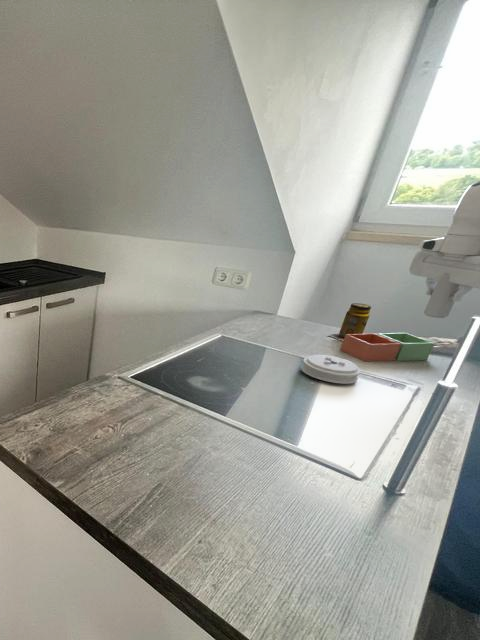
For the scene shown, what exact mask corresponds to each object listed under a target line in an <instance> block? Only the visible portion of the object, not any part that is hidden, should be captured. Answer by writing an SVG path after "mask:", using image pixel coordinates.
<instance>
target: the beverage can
mask: <svg viewBox="0 0 480 640" xmlns="http://www.w3.org/2000/svg"><path fill="white" fill-rule="evenodd" d="M443 274H445V275H441V276H440V278H439V280H438V281H437V282H436V286H435V288H434V290H433V292H432V295H430V297H429V299H428V302H427V304H426V306H425V308H424V311H423V314H424V315H425V316H426V317H430V318H435V319H445V318H447V317H448V316H449V315H450V313H451V310H452V309H453V307H454V304H455V303H456V302H455V301H451V300H449V298H450V295H451V294H455V293H457V292H458V291H459V290H460V289H458V287H459V285H460V284H455V283H451V282H449V279H450V276H449V275H450V274H448V273H443Z"/></svg>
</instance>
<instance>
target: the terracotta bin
mask: <svg viewBox="0 0 480 640" xmlns="http://www.w3.org/2000/svg"><path fill="white" fill-rule="evenodd" d="M400 346H401V344H400V343H398V342H395V341H393V340H390V339H388V338H385V337H382V336H380V335H377V333H373V332H372V333H363V334H346V335H345V338H344V341H342V344H341V346H340V349H339V350H340V351H342V352H343V353H345V354H348V355H351V356H352V357H354V358H356V359H358V360H360V361H363V362H394V361H396V360H395V357H396V355H397V353H398V351H399V348H400Z"/></svg>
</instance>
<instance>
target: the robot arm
mask: <svg viewBox="0 0 480 640" xmlns="http://www.w3.org/2000/svg"><path fill="white" fill-rule="evenodd" d="M418 248H419V249H420V250H418V251H417V252H416V253H415V254H414V255H413V258H412V261H411V263H410V266H409V268H408V271H409V274H410V275H412V276H417V277H422V278H426V280H425V284H426V291H425V295H427V296H431V295H432V292H433V290H434V288H435V286H436V283H437V281H438V280H439V278H440V276H441V275H445V274H443V273H448V274H450V275H449V276H450V279H449V282H451V283H455V284H460V285H459V287H458V289H460V290H459V291H458V292H457V293H455V294H451V295H450V298H449V300H451V301H455V303H457V302H458V303H459V302H461V301H462V299H463V298H464V296H465V295H466V294H468V293H469V292H471V291H472V290H473V288H474V289H475V288H476V289H479V290H480V180H478V181H476V182H474V183H471V185H469V186H468V187H467V189H466V190H465V191H464V193H463V194H462V196H461V198H460V200H459V202H458V203H457V206H456V208H455V210H454V212H453V215H452V222H451V225H450V226H449V228H447V230H446V231H445V233H444V236H443V237H439V238H433V239H427V240H422V241H421V242H420V244H419V246H418Z"/></svg>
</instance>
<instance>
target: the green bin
mask: <svg viewBox="0 0 480 640" xmlns="http://www.w3.org/2000/svg"><path fill="white" fill-rule="evenodd" d="M376 334H377V335H380V336H382V337H385V338H388V339H390V340H393V341H395V342H398V343H400V344H401V346H400V348H399V351H398V353H397V355H396V357H395V360H394V361H397V362H399V361H400V362H402V361H428V359H429V357H430V356H431V352H432V351H433V348H434V346H435V342H433V341H430V340H428V339H424V338H421V337H419V336H417V335H413V334H411V333H408V332H378V333H376Z"/></svg>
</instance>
